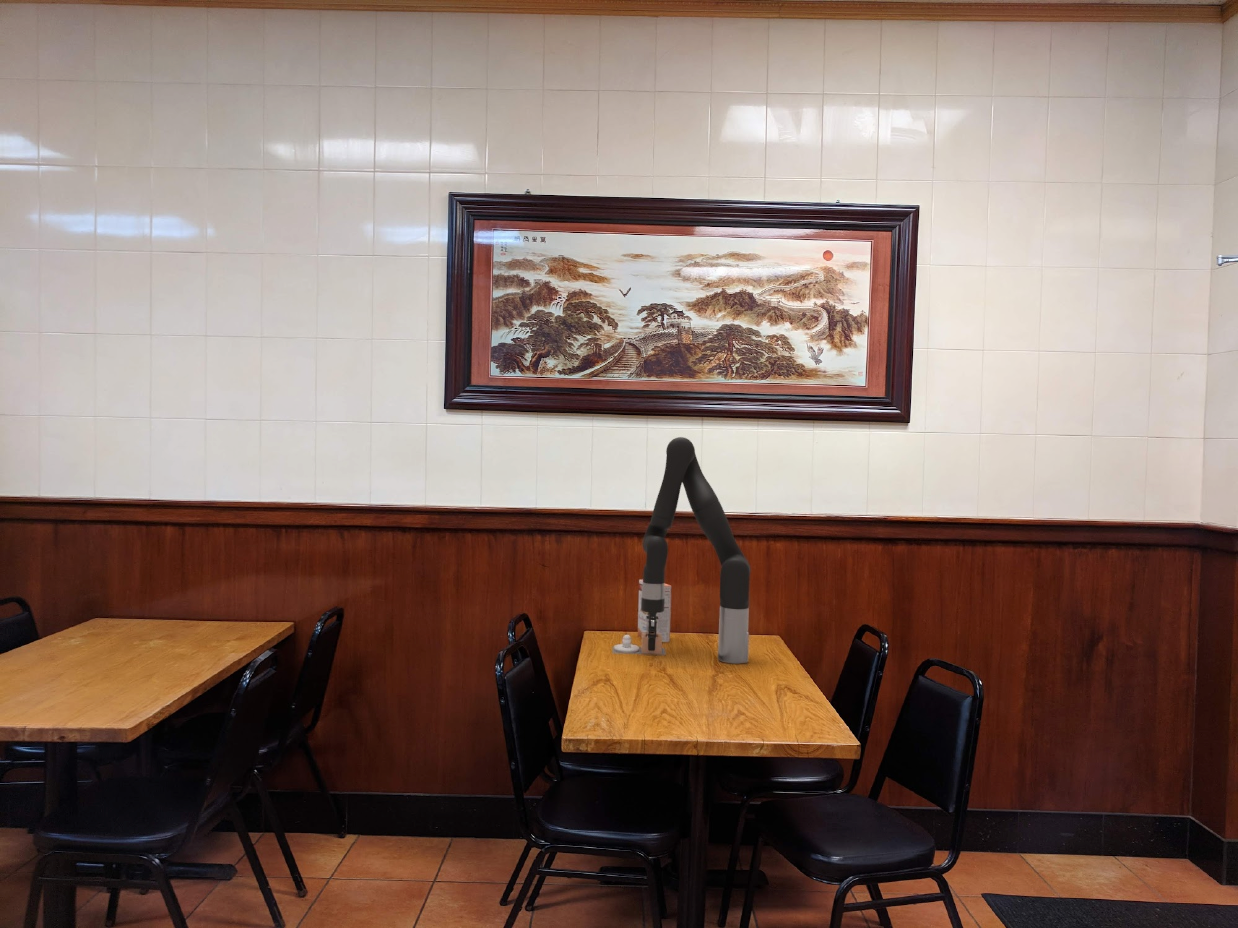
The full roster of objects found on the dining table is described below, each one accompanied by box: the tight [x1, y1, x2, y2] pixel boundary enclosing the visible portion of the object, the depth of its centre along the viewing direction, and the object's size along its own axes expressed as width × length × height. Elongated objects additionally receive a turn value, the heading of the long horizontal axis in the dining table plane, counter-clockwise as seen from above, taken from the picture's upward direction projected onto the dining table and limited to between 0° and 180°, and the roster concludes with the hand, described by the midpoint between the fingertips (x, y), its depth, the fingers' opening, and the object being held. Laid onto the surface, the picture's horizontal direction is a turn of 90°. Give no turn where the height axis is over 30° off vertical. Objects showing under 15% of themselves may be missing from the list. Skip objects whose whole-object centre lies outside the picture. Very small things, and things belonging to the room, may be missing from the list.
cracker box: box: [637, 578, 672, 643], centre depth 282 cm, size 14×6×21 cm, turn 25°
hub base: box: [612, 634, 667, 656], centre depth 264 cm, size 17×9×6 cm, turn 89°
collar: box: [640, 633, 663, 654], centre depth 263 cm, size 6×6×5 cm
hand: (651, 647), depth 263 cm, fingers closed on collar, 6 cm apart
